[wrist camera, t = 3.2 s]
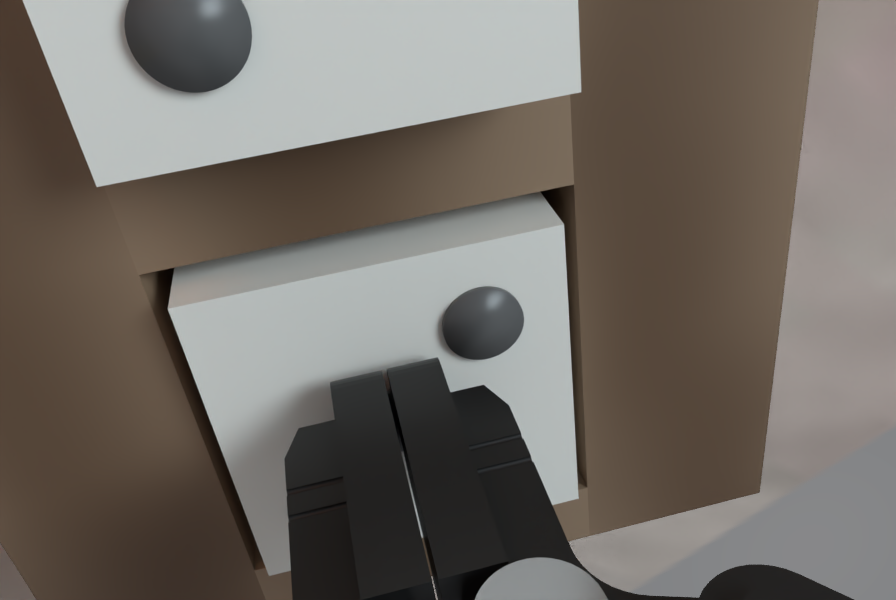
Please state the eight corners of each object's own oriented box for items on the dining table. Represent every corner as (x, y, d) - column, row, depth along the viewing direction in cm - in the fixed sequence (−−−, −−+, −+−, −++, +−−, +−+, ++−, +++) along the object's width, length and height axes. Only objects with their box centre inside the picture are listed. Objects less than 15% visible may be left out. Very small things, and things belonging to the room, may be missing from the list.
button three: (509, 150, 12) (566, 227, 10) (531, 398, 15) (580, 503, 13) (182, 216, 12) (167, 313, 10) (266, 460, 15) (269, 581, 12)
